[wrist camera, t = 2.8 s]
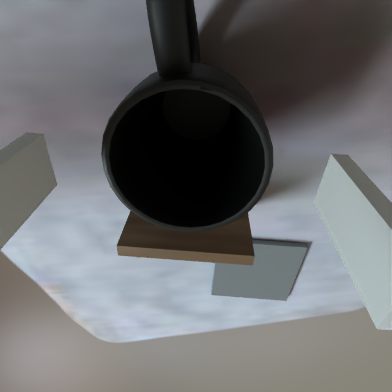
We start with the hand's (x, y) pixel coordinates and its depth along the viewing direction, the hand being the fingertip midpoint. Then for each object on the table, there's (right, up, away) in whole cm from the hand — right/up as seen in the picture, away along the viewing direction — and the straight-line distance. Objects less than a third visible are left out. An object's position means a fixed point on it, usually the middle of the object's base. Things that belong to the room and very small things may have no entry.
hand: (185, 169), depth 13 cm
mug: (0, +7, +7) cm, 10 cm away
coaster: (+7, -9, +18) cm, 21 cm away
